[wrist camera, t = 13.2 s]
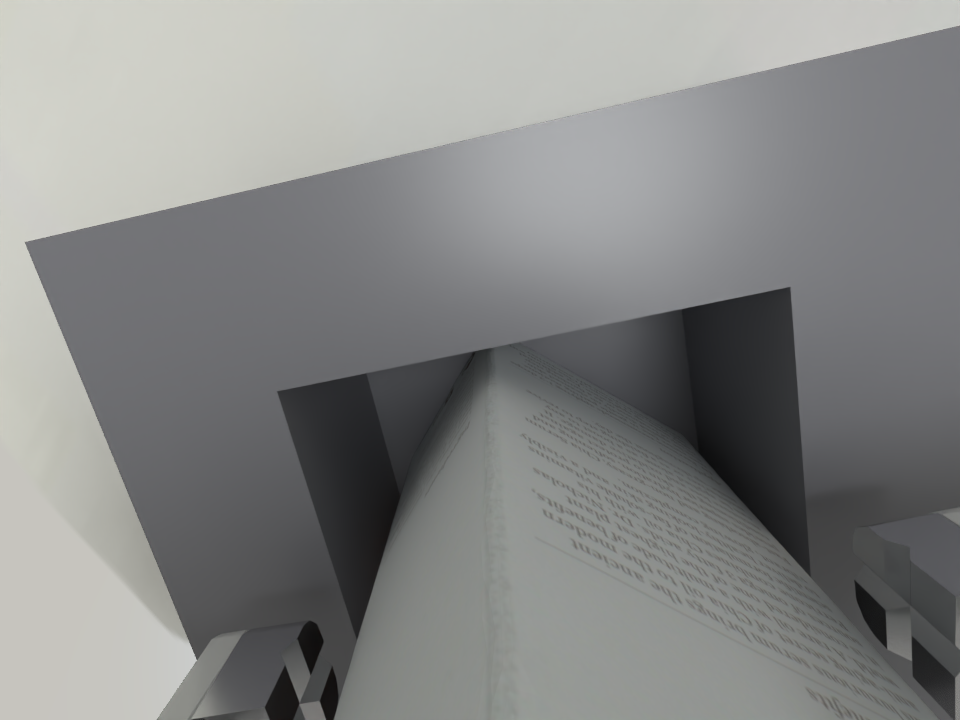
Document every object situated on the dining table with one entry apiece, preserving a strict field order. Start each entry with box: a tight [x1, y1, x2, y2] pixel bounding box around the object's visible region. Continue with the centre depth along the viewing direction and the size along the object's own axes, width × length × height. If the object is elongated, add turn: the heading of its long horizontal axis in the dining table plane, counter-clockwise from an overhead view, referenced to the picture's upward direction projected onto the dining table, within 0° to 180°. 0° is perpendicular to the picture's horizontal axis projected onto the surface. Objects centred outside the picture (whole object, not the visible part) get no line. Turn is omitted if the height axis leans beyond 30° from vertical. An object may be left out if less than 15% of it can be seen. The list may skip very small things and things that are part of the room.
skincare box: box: [334, 342, 939, 720], centre depth 8 cm, size 6×4×12 cm
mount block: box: [25, 26, 960, 720], centre depth 12 cm, size 14×14×6 cm
